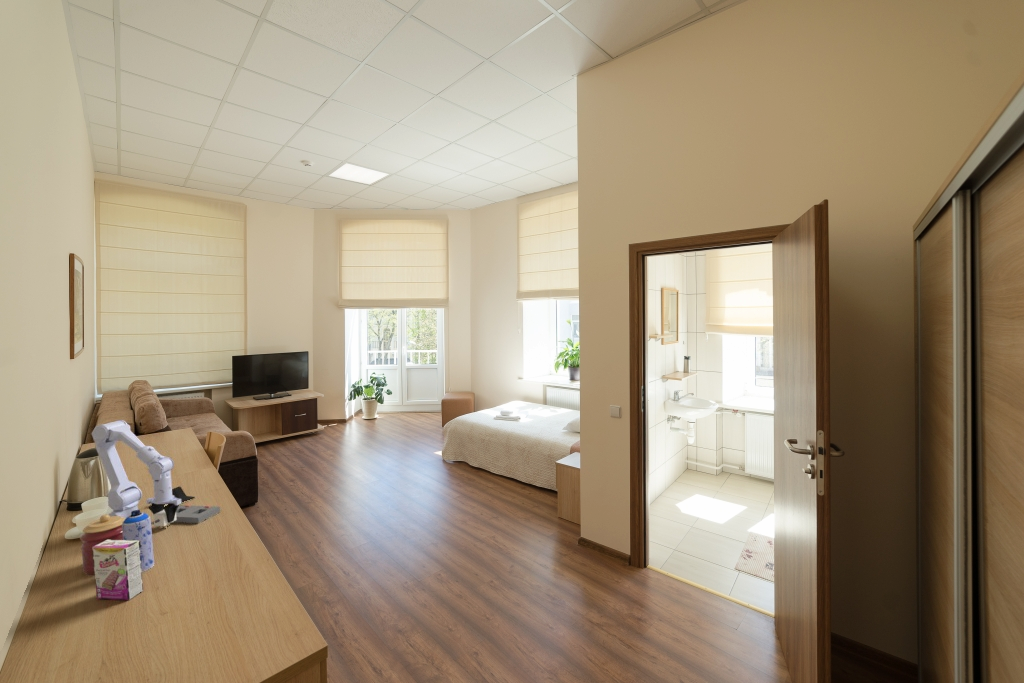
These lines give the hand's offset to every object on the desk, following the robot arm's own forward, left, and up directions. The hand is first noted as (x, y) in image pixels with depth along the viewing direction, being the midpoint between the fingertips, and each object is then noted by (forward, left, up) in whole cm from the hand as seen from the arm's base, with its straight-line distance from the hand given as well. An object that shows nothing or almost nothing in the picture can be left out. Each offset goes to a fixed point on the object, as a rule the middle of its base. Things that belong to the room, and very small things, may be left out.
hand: (165, 521), depth 183 cm
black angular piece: (+24, +20, -3) cm, 31 cm away
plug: (0, 0, -3) cm, 3 cm away
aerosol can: (-28, -20, -3) cm, 35 cm away
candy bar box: (-42, -29, -3) cm, 51 cm away
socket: (+10, -1, -3) cm, 10 cm away
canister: (-27, -6, -3) cm, 28 cm away
